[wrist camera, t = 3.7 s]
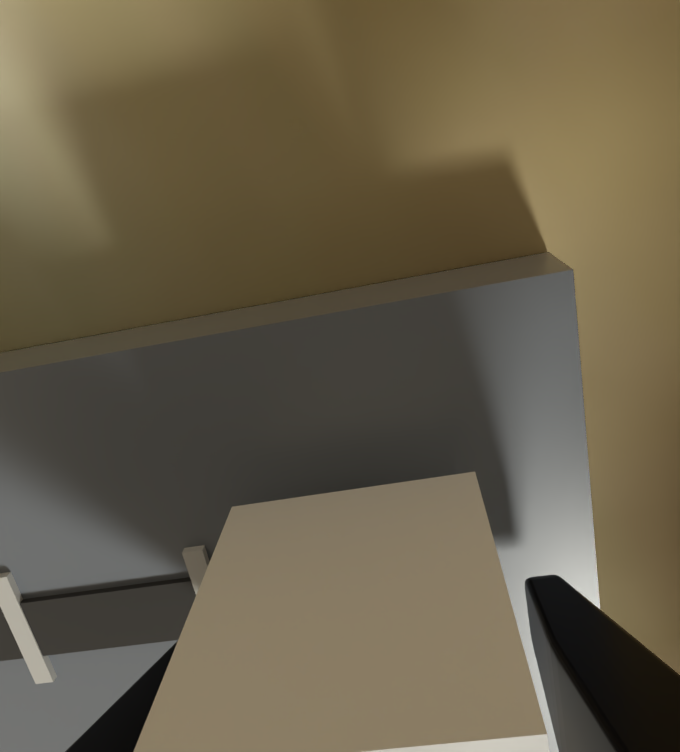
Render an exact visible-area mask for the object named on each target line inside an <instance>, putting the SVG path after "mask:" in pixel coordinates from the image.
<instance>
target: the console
mask: <svg viewBox="0 0 680 752" xmlns="http://www.w3.org/2000/svg"><path fill="white" fill-rule="evenodd" d="M468 472H475V473H476V477H477V480H478V484H479V488H480V491H481V495H482V499H483V502H484V506H485V510H486V513H487V517H488V520H489V524H490V528H491V531H492V535H493V539H494V542H495V546H496V550H497V553H498V557H499V561H500V564H501V568H502V571H503V575H504V579H505V582H506V586H507V590H508V593H509V597H510V601H511V604H512V608H513V611H514V615H515V619H516V622H517V626H518V630H519V633H520V637H521V641H522V644H523V648H524V652H525V655H526V659H527V662H528V666H529V670H530V673H531V677H532V681H533V684H534V688H535V692H536V695H537V699H538V703H539V706H540V710H541V713H542V717H543V721H544V724H545V728H546V732H547V737H548V745H549V752H559V750H558V746H557V742H556V738H555V734H554V729H553V725H552V721H551V717H550V713H549V709H548V705H547V701H546V697H545V693H544V689H543V685H542V681H541V677H540V673H539V669H538V665H537V660H536V656H535V652H534V648H533V644H532V639H531V633H530V626H529V618H528V610H527V602H526V594H525V581H526V579H527V578H529V577H536V576H544V575H558V576H560V577H561V578H562V579H564V580H565V581H566V582H567V583H569V584H570V585H571V586H572V587H573V588H575V589H576V590H577V591H578V592H579V593H581V594H582V595H583V596H584V597H586V598H587V599H588V600H589V601H590V602H592V603H593V604H594V605H595V606H596V607H598V608H599V609H600V600H599V588H598V575H597V562H596V550H595V537H594V525H593V512H592V500H591V487H590V475H589V462H588V449H587V437H586V424H585V412H584V399H583V387H582V374H581V362H580V349H579V337H578V324H577V311H576V299H575V286H574V274H573V269H572V268H570V267H569V266H567V265H566V264H565V263H563V262H562V261H560V260H559V259H558V258H556V257H555V256H553V255H552V254H551V253H549V252H546V253H541V254H535V255H530V256H524V257H519V258H513V259H508V260H502V261H497V262H492V263H486V264H481V265H475V266H470V267H464V268H459V269H454V270H448V271H443V272H437V273H432V274H426V275H421V276H415V277H410V278H405V279H399V280H394V281H388V282H383V283H377V284H372V285H367V286H361V287H356V288H350V289H345V290H339V291H334V292H328V293H323V294H318V295H312V296H307V297H301V298H296V299H290V300H285V301H279V302H274V303H269V304H263V305H258V306H252V307H247V308H241V309H236V310H231V311H225V312H220V313H214V314H209V315H203V316H198V317H192V318H187V319H182V320H176V321H171V322H165V323H160V324H154V325H149V326H143V327H138V328H133V329H127V330H122V331H116V332H111V333H105V334H100V335H95V336H89V337H84V338H78V339H73V340H67V341H62V342H56V343H51V344H46V345H40V346H35V347H29V348H24V349H18V350H13V351H7V352H2V353H0V752H65V751H66V750H67V749H68V748H69V747H70V746H71V745H72V744H73V743H74V742H75V741H76V740H77V739H78V738H79V737H80V736H81V735H82V734H83V733H84V732H85V731H86V730H87V729H88V728H89V727H90V726H91V725H92V724H94V723H95V722H96V721H97V720H98V719H99V718H100V717H101V716H102V715H103V714H104V713H105V712H106V711H107V710H108V709H109V708H110V707H111V706H112V705H113V704H114V703H115V702H116V701H117V700H118V699H119V698H120V697H121V696H122V695H123V694H124V693H125V692H126V691H127V690H128V689H129V688H130V687H131V686H132V685H133V684H134V683H135V682H136V681H137V680H138V679H139V678H140V677H141V676H142V675H143V674H144V673H145V672H146V671H147V670H148V669H149V668H150V667H151V666H153V665H154V664H155V663H156V662H157V661H158V660H159V659H160V658H161V657H162V656H163V655H164V654H165V653H166V652H167V651H168V650H169V649H170V648H171V647H172V646H173V645H174V644H175V643H176V642H177V641H178V640H179V637H180V635H181V632H182V630H183V627H184V625H185V622H186V620H187V617H188V615H189V612H190V610H191V607H192V605H193V602H194V600H195V597H196V595H197V592H198V590H199V587H200V585H201V582H202V580H203V577H204V575H205V572H206V570H207V567H208V565H209V562H210V560H211V557H212V555H213V552H214V550H215V547H216V545H217V542H218V540H219V537H220V535H221V533H222V530H223V528H224V525H225V523H226V520H227V518H228V515H229V513H230V510H231V508H232V507H233V506H240V505H247V504H254V503H261V502H268V501H275V500H282V499H289V498H296V497H302V496H309V495H316V494H323V493H330V492H337V491H344V490H351V489H358V488H365V487H372V486H378V485H385V484H392V483H399V482H406V481H413V480H420V479H427V478H434V477H441V476H448V475H454V474H461V473H468Z"/></svg>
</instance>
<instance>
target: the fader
mask: <svg viewBox="0 0 680 752" xmlns="http://www.w3.org/2000/svg"><path fill="white" fill-rule="evenodd" d="M134 752H549V745H548V737H547V732H546V728H545V724H544V721H543V717H542V713H541V710H540V706H539V703H538V699H537V695H536V692H535V688H534V684H533V681H532V677H531V673H530V670H529V666H528V662H527V659H526V655H525V652H524V648H523V644H522V641H521V637H520V633H519V630H518V626H517V622H516V619H515V615H514V611H513V608H512V604H511V601H510V597H509V593H508V590H507V586H506V582H505V579H504V575H503V571H502V568H501V564H500V561H499V557H498V553H497V550H496V546H495V542H494V539H493V535H492V531H491V528H490V524H489V520H488V517H487V513H486V510H485V506H484V502H483V499H482V495H481V491H480V488H479V484H478V480H477V477H476V473H475V472H468V473H461V474H454V475H448V476H441V477H434V478H427V479H420V480H413V481H406V482H399V483H392V484H385V485H378V486H372V487H365V488H358V489H351V490H344V491H337V492H330V493H323V494H316V495H309V496H302V497H296V498H289V499H282V500H275V501H268V502H261V503H254V504H247V505H240V506H233V507H232V508H231V510H230V513H229V515H228V518H227V520H226V523H225V525H224V528H223V530H222V533H221V535H220V537H219V540H218V542H217V545H216V547H215V550H214V552H213V555H212V557H211V560H210V562H209V565H208V567H207V570H206V572H205V575H204V577H203V580H202V582H201V585H200V587H199V590H198V592H197V595H196V597H195V600H194V602H193V605H192V607H191V610H190V612H189V615H188V617H187V620H186V622H185V625H184V627H183V630H182V632H181V635H180V637H179V640H178V642H177V645H176V647H175V649H174V652H173V654H172V657H171V659H170V662H169V664H168V667H167V669H166V672H165V674H164V677H163V679H162V682H161V684H160V687H159V689H158V692H157V694H156V697H155V699H154V702H153V704H152V707H151V709H150V712H149V714H148V717H147V719H146V722H145V724H144V727H143V729H142V732H141V734H140V737H139V739H138V742H137V744H136V747H135V749H134Z"/></svg>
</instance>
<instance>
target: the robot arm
mask: <svg viewBox="0 0 680 752" xmlns="http://www.w3.org/2000/svg"><path fill="white" fill-rule="evenodd" d="M525 594H526V602H527V610H528V618H529V626H530V633H531V639H532V644H533V648H534V652H535V656H536V660H537V665H538V669H539V673H540V677H541V681H542V685H543V689H544V693H545V697H546V701H547V705H548V709H549V713H550V717H551V721H552V725H553V729H554V734H555V738H556V742H557V746H558V750H559V752H680V675H679V674H678V673H676V672H675V671H674V670H673V669H672V668H670V667H669V666H668V665H667V664H666V663H664V662H663V661H662V660H661V659H659V658H658V657H657V656H656V655H655V654H653V653H652V652H651V651H650V650H649V649H647V648H646V647H645V646H644V645H642V644H641V643H640V642H639V641H638V640H636V639H635V638H634V637H633V636H632V635H630V634H629V633H628V632H627V631H626V630H624V629H623V628H622V627H621V626H619V625H618V624H617V623H616V622H615V621H613V620H612V619H611V618H610V617H609V616H607V615H606V614H605V613H604V612H602V611H601V610H600V609H599V608H598V607H596V606H595V605H594V604H593V603H592V602H590V601H589V600H588V599H587V598H586V597H584V596H583V595H582V594H581V593H579V592H578V591H577V590H576V589H575V588H573V587H572V586H571V585H570V584H569V583H567V582H566V581H565V580H564V579H562V578H561V577H560V576H558V575H544V576H536V577H529V578H527V579H526V581H525ZM177 642H178V641H177ZM177 642H176V643H175V644H174V645H173V646H172V647H171V648H170V649H169V650H168V651H167V652H166V653H165V654H164V655H163V656H162V657H161V658H160V659H159V660H158V661H157V662H156V663H155V664H154V665H153V666H151V667H150V668H149V669H148V670H147V671H146V672H145V673H144V674H143V675H142V676H141V677H140V678H139V679H138V680H137V681H136V682H135V683H134V684H133V685H132V686H131V687H130V688H129V689H128V690H127V691H126V692H125V693H124V694H123V695H122V696H121V697H120V698H119V699H118V700H117V701H116V702H115V703H114V704H113V705H112V706H111V707H110V708H109V709H108V710H107V711H106V712H105V713H104V714H103V715H102V716H101V717H100V718H99V719H98V720H97V721H96V722H95V723H94V724H92V725H91V726H90V727H89V728H88V729H87V730H86V731H85V732H84V733H83V734H82V735H81V736H80V737H79V738H78V739H77V740H76V741H75V742H74V743H73V744H72V745H71V746H70V747H69V748H68V749H67V750H66V751H65V752H134V749H135V747H136V744H137V742H138V739H139V737H140V734H141V732H142V729H143V727H144V724H145V722H146V719H147V717H148V714H149V712H150V709H151V707H152V704H153V702H154V699H155V697H156V694H157V692H158V689H159V687H160V684H161V682H162V679H163V677H164V674H165V672H166V669H167V667H168V664H169V662H170V659H171V657H172V654H173V652H174V649H175V647H176V645H177Z"/></svg>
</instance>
